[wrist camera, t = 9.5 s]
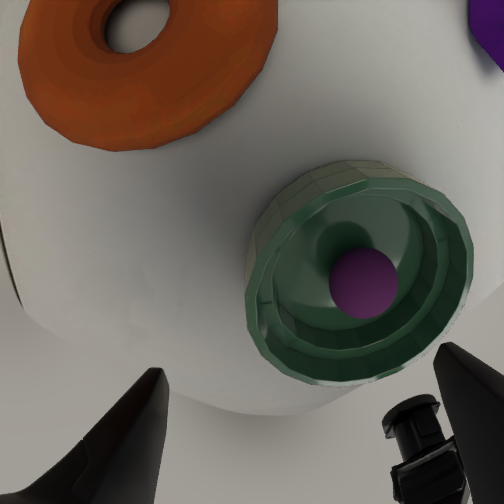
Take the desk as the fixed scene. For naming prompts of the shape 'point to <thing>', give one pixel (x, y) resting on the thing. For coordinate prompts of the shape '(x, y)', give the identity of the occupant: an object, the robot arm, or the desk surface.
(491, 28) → the crystal
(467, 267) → the bowl
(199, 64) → the donut
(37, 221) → the desk surface
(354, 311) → the ball
